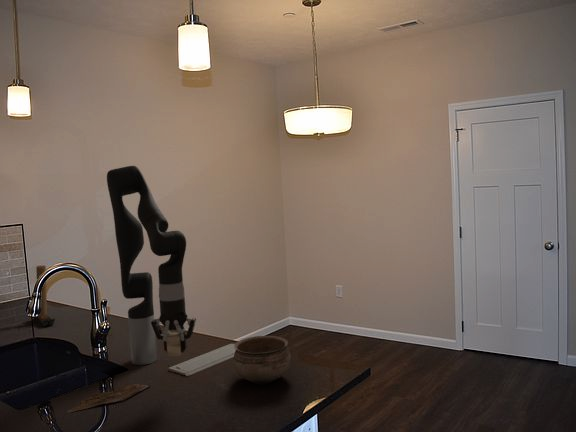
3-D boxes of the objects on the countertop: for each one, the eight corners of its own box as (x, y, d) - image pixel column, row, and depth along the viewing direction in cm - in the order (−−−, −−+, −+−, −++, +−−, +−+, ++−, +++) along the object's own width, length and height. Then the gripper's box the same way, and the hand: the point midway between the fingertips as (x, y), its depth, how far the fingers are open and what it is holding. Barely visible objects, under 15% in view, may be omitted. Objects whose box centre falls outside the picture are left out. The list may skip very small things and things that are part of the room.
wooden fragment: (142, 382, 175) (142, 379, 175) (156, 392, 166) (155, 389, 166) (61, 406, 159) (61, 403, 159) (71, 418, 151) (71, 415, 150)
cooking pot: (309, 383, 167) (307, 346, 166) (260, 401, 155) (258, 361, 154) (264, 363, 187) (263, 329, 186) (218, 377, 175) (216, 342, 174)
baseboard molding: (253, 352, 200) (231, 347, 208) (252, 345, 200) (230, 340, 208) (190, 379, 177) (168, 372, 184) (190, 370, 176) (167, 364, 184)
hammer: (55, 330, 250) (53, 271, 244) (44, 332, 247) (42, 273, 241) (41, 316, 265) (40, 260, 258) (31, 318, 261) (29, 261, 255)
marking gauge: (178, 342, 170) (177, 324, 169) (190, 342, 170) (189, 324, 169) (167, 356, 158) (166, 336, 157) (180, 355, 158) (179, 336, 157)
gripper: (197, 293, 162) (201, 347, 163) (152, 294, 162) (156, 348, 164) (192, 299, 154) (195, 355, 156) (144, 300, 155) (149, 356, 157)
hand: (175, 351), depth 160 cm, fingers closed on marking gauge, 4 cm apart
